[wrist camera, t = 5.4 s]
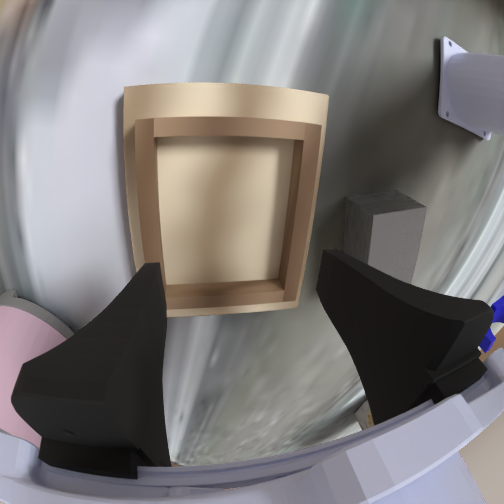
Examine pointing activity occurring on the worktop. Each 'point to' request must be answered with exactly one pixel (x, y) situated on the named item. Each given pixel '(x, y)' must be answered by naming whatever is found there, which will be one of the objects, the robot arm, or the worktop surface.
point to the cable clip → (500, 307)
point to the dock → (223, 191)
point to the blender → (23, 353)
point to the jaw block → (384, 231)
